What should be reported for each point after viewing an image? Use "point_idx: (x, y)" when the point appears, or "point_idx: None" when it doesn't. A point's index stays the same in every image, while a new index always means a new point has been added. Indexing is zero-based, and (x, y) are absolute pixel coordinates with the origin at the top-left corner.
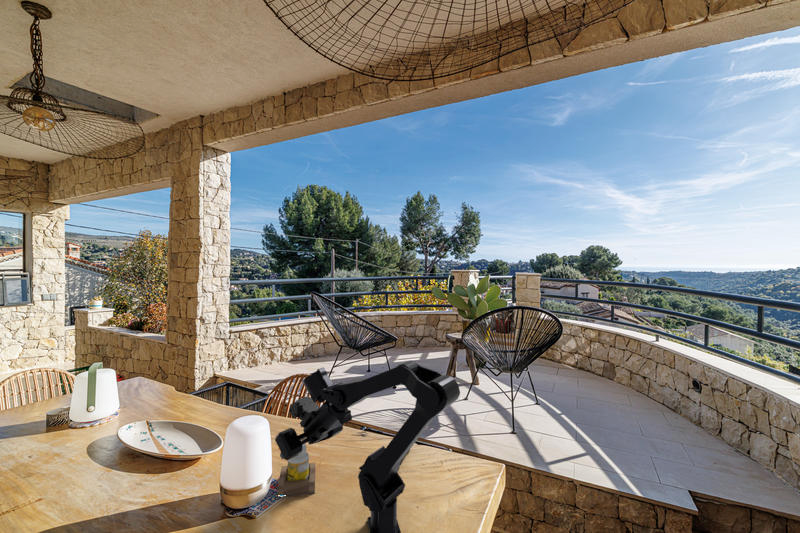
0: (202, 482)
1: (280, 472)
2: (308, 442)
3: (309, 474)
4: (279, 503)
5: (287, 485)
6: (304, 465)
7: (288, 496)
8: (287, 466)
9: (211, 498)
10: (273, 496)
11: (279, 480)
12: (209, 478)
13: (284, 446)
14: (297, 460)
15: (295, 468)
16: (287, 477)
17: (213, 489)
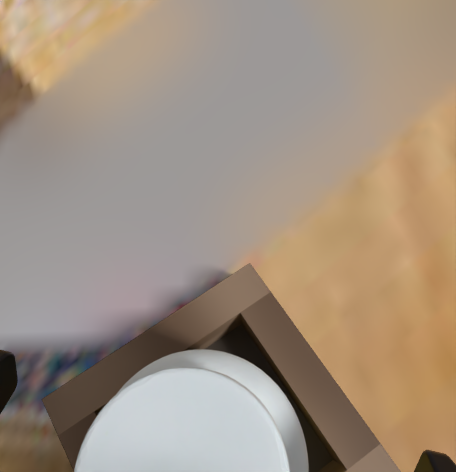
0: (91, 8)
1: (183, 306)
2: (421, 464)
3: (332, 456)
4: (34, 448)
5: (72, 460)
6: None
7: None
8: (265, 299)
9: (4, 115)
10: (83, 366)
11: (99, 367)
12: (123, 8)
13: None
14: None
15: None
16: (245, 328)
17: (60, 76)
